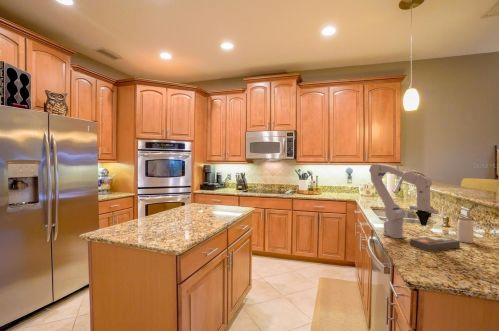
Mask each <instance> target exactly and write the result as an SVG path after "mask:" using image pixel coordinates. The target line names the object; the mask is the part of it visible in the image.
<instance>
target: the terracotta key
mask: <svg viewBox="0 0 499 331" xmlns="http://www.w3.org/2000/svg"><path fill="white" fill-rule="evenodd" d="M417 241H420V242H423V243H431V241H428V240H424V239H423V240H417Z"/></svg>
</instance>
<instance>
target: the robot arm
mask: <svg viewBox="0 0 499 331" xmlns="http://www.w3.org/2000/svg"><path fill="white" fill-rule="evenodd" d="M368 171H369V174H370V181H371V183H372V184H373V186H374V188H375V190H376V193H377V194H378V196H379V197H380V199H381V201H382V203H383V205H384V206H385V207H384V209H383V210H384V212H385V217H386V220H384V222H383V233H382V235H385V236H387V237H390V238H393V239H404V238H407V235H406V236H405V235H404V233H403V232H404V229H403V228H404V226H403V225H404V224H403V223H404V221H403V219H404V218H405V216H406V213H405V211H404V210H403V209H402V208H401V207H400V205H398V204H397V203H396V202H395V201H394V198H392V196H391V194H390V192H389V191H388V189H387V187H386V185H385V183H384V181H383V178H384V176H385V175H386V174H387V173H389V174H393V175H395V176H398V177H401V179H402V181H404V182H406V183H409V184H412V185H414V186H415V188H416V205H409V210H411V211H415V214H416V215H417V217H418V220H419V223H420V225H421V226H422V227H426V226H427V225H428V221H429V218H430V216H431V215H432V214H434V215H439V213H440V212H439V210H437V209H434V208H431V186H432V183H433V181H432V178H429V177H428V176H423V175H422V174H418V173H415V172H414V171H412V170H406V171H404V170H401V169H398V168H397V167H394V166H392V165H390V164H386V163H372V164H371V165H370V166H369V170H368Z"/></svg>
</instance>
